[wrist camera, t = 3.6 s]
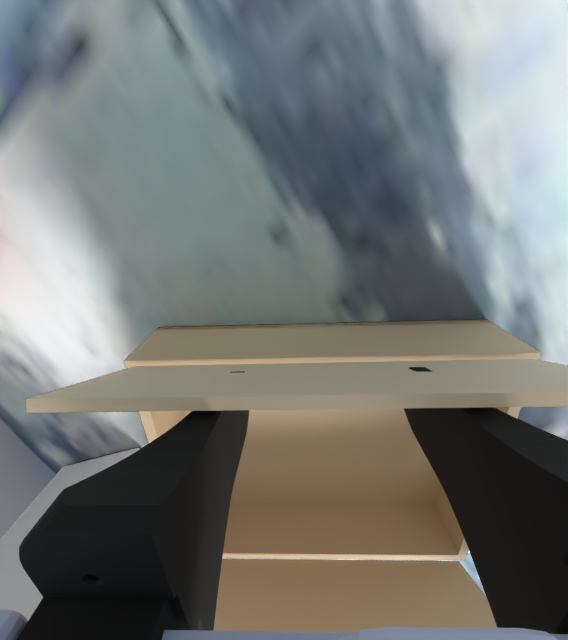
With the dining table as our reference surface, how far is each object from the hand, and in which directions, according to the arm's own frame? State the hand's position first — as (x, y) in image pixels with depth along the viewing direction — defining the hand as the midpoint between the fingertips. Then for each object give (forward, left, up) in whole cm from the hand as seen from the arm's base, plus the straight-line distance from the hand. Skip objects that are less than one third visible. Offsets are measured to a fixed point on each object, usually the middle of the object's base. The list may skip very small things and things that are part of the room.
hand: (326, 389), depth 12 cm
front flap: (0, -1, +1) cm, 1 cm away
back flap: (0, +14, +1) cm, 14 cm away
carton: (0, +8, -6) cm, 10 cm away
